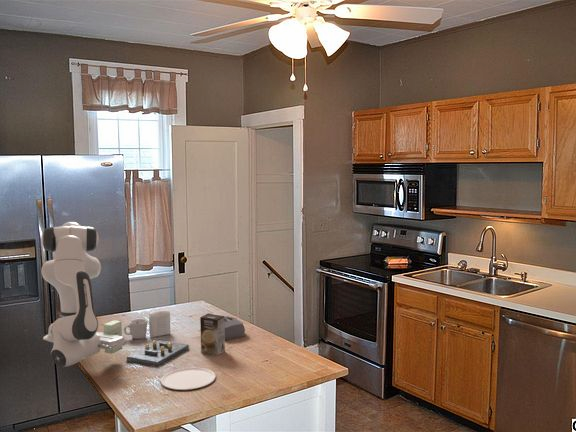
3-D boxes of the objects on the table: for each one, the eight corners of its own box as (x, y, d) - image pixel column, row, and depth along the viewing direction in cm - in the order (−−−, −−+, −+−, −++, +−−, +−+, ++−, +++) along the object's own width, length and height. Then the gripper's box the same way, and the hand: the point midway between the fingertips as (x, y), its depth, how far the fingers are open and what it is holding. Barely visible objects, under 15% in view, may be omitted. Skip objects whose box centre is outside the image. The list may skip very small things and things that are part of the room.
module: (104, 352, 219) (103, 324, 217) (114, 347, 224) (113, 320, 223) (112, 353, 217) (111, 325, 216) (122, 349, 223) (121, 321, 221)
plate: (219, 388, 195) (219, 384, 195) (162, 395, 190) (162, 392, 189) (211, 367, 215) (211, 364, 215) (159, 373, 209) (159, 370, 209)
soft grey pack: (249, 336, 253) (228, 326, 269) (249, 319, 252) (228, 309, 268) (221, 342, 244) (202, 331, 260) (220, 325, 243) (201, 315, 259)
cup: (125, 342, 245) (125, 325, 244) (122, 337, 252) (122, 321, 251) (149, 338, 250) (148, 322, 249) (145, 333, 257) (145, 317, 256)
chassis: (126, 361, 222) (126, 349, 221) (159, 344, 242) (159, 333, 242) (157, 366, 216) (157, 354, 215) (188, 349, 236) (188, 338, 235)
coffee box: (200, 352, 231) (199, 317, 229) (208, 348, 236) (207, 313, 235) (218, 356, 227) (217, 319, 225) (225, 351, 233) (225, 315, 231)
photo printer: (168, 331, 260) (168, 307, 259) (172, 334, 256) (171, 309, 255) (148, 335, 254) (147, 310, 253) (151, 338, 251) (150, 312, 249)
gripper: (110, 340, 204) (134, 329, 216) (70, 333, 212) (95, 323, 224) (110, 356, 204) (134, 344, 217) (71, 348, 213) (96, 337, 225)
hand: (114, 333), depth 221 cm, fingers closed on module, 4 cm apart
